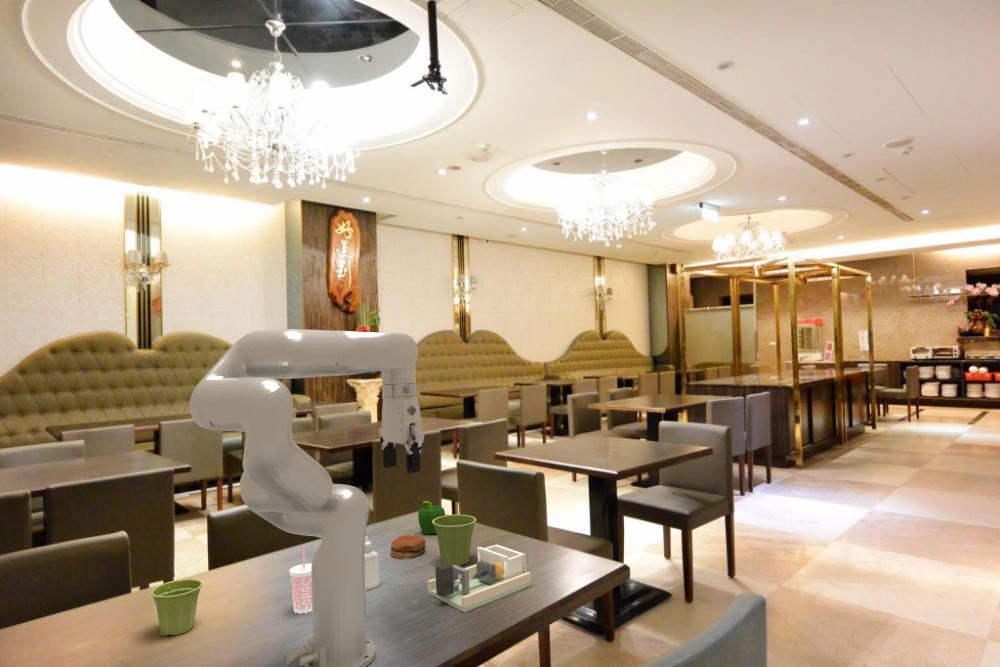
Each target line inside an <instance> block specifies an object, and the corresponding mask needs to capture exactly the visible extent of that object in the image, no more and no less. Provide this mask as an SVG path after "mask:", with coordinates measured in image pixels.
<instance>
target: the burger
mask: <svg viewBox="0 0 1000 667" xmlns="http://www.w3.org/2000/svg"><path fill="white" fill-rule="evenodd" d="M426 542H427V540H426V539H425V538H424V537H423V536H419V535H418V534H416V533H414V534H405V535H401V536H398V537H397V538H395V539H394V540H393V541H392V542H391V547H390V555H391V557H393V558H396V559H400V558H409V559H411V558H412V557H413V558H415V557H417V556H418V555H420V554H422V553H423V552H424V550H425V548H426Z"/></svg>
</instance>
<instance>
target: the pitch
mask: <svg viewBox="0 0 1000 667" xmlns="http://www.w3.org/2000/svg"><path fill="white" fill-rule="evenodd" d="M476 551H477V562H478V561H481V560H482V561H485V562H487V563H490V564H492V563H493V562H499V563H501V564H502V565H503V567H504V575H503V577H502V578H501V579H499V580H496V583H494V584H491V585H490V584H488V583H485V582H483V581H480V580H478V579H474V580H471V581H469V575H472V574H475V573H477V563H476V564H473V565H470V566H467V567H465V568H464V567H461V566H457V565H453V581H455V580H458V579H460V578H462V584H460V585H457V586H455V587H454V594H451V595H448V596H445V597H441V596H439V595H437V594H436V577H435V578H432V579H429V580H427V594H428V595H429V594H430V595H429V596H431V595H432V596H431V597H433V596H434V597H433V598H435V597H436V598H435V599H437V598H438V599H437V600H439V599H440V601H441V600H442V601H441V602H443V601H444V602H443V603H445V602H446V604H447V603H448V604H447V605H449V604H450V605H449V606H451V605H452V606H451V607H453V606H454V607H453V608H454V609H457V610H459V611H461V612H463V613H467V612H469V611H472V610H474V609H477V608H480V607H481V606H482V607H483V606H484V605H487V604H490V603H492V602H494V601H497V600H499V599H502V598H505V597H507V596H510V595H512V594H514V593H517V592H519V591H522V590H524V589H527V588H530V587H532V572H530V571H527V562H526V558H527V557H526V553H523V552H520V551H517V550H514V549H512V548H508V547H506V546H503V545H499V544H493V545H489V546H486V547H482V546H477V547H476Z"/></svg>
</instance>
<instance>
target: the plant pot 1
mask: <svg viewBox="0 0 1000 667" xmlns="http://www.w3.org/2000/svg"><path fill="white" fill-rule="evenodd" d="M203 585H204V584H203V581H202V580H199V579H194V578H185V579H184V578H183V579H179V580H172V581H169V582H165V583H162V584H160V585H157V586H156V587H154V588H153V589H152V590H151V592H150V595H151V597H152V598H153V601H154V602H155V606H156V611H157V612H156V613H157V618H158V626H159V632H160V634H161V635H162V636H165V637H167V636H168V635H172V636H177V635H182V634H184V633H187V632H189V631H190V630H191V629H192V627H194V626H195V620H196V612H197V605H198V598H199V594H200V592H201V588H202V587H203Z"/></svg>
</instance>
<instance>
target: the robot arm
mask: <svg viewBox="0 0 1000 667" xmlns="http://www.w3.org/2000/svg"><path fill="white" fill-rule="evenodd" d="M418 355H419V349H418V345H417V342H416V341H415V339H414V338H413V337H412V336H411V335H409V334H407V333H401V332H397V333H396V332H367V331H366V332H365V331H354V330H353V331H351V330H325V329H305V328H304V329H303V328H302V329H301V328H300V329H299V328H284V329H270V330H256V331H251V332H249V333H246V334H245V335H243V336H242V337H241V338H239V339H238V340H237V341H236V342H235V343H234V344H232V346H231V347H230V348H228V350H227V351H225V353H224V354H223V355H222V356H221V357H220V358H219V360H218V361H216V363H214V365H213V366H212V367H211V368H210V369H209V371H208V372H207V373H206V374H205V375H204V376H203V377H202V379H200V381H199V382H198V384H197V385H196V386H195V387H194V389H193V391H192V394H191V395H190V400H189V412H190V416H191V418H192V420H193V421H194V423H196V425H198V426H199V427H201V428H203V429H205V430H208V431H212V432H213V431H214V432H245V433H246V435H245V440H244V451H243V457H242V468H243V472H242V474H241V476H240V480H239V492H240V496H241V499H242V501H243V503H244V504H245V505H246V507H247V508H248V509H249V510H251V511H252V512H253V513H254V514H256V515H258V516H259V517H261V518H262V519H264V520H265V521H267V522H269V523H270V524H272V525H273V526H275V527H276V528H278V529H280V530H282V531H284V532H285V533H289V534H293V535H300V536H309V537H316V538H320V539H321V542H320V544H319V547H318V548H317V550H316V551H315V553H314V555H313V558H312V562H311V564H312V566H311V577H312V614H311V615H312V616H311V618H312V636H310V637H307V639H306V640H307V643H306V644H304V645H303V646H302V647H301V648H299V649H295V650H292V651H290V652H287V653H286V654H285V664H286V665H287V666H290V665H293V664H295V663H298V666H299V667H367V666H368V665H369V664H370V663H371V662H373V660H374V659H375V657H376V653H377V651H376V646H375V643H374V642H373V641H372V640H370V639H369V638H367V637H368V636H367V600H366V597H367V595H366V593H367V592H366V591H367V590H365V537H367V535H366V533H367V528H368V527H367V526H368V522H369V516H370V515H369V514H370V502H369V499H368V497H367V495H366V494H365V492H364V491H363V490H361V489H360V488H358V487H356V486H352V485H349V484H344V483H343V484H341V483H333V479H332V477H331V475H330V473H329V472H328V470H327V469H326V468H325V467H324V466H323V465H322V464H320V463H319V462H318V461H317V460H316V459H315V458H314V457H312V456H311V455H310V454H309V453H308V452H306V451H305V450H304V449H303V448H302V447H300V446H299V445H298V444H297V442H295V441H294V438H293V429H292V428H293V417H294V416H293V415H294V401H293V400H294V399H293V396H292V394H291V392H290V389H288V387H287V385H285V384H284V383H283V382H281V381H280V380H279V379H283V380H284V379H290V380H291V379H304V378H305V379H307V378H319V377H338V376H352V375H359V374H365V373H372V372H373V373H375V372H381V393H382V396H381V398H382V408H381V426H380V428H378V433H379V434H378V435H379V437H380V438H379V441H380V443H381V450H382V466H383V468H385V469H386V468H393V467H397V465H398V464H397V462H398V461H397V457H398V456H397V448H396V445H404V447H405V450H406V452H407V453H406V454H405V465H406V466H405V468H406V473H407V474H412V473H417V472H421V453H422V448H423V446H424V439H425V434H424V432H423V429H422V427H423V426H422V420H421V419H422V418H421V409H420V408H421V407H420V403H419V399H418V397H417V374H416V373H417V372H416V371H417V370H416V366H417V365H416V362H417V359H418Z"/></svg>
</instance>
